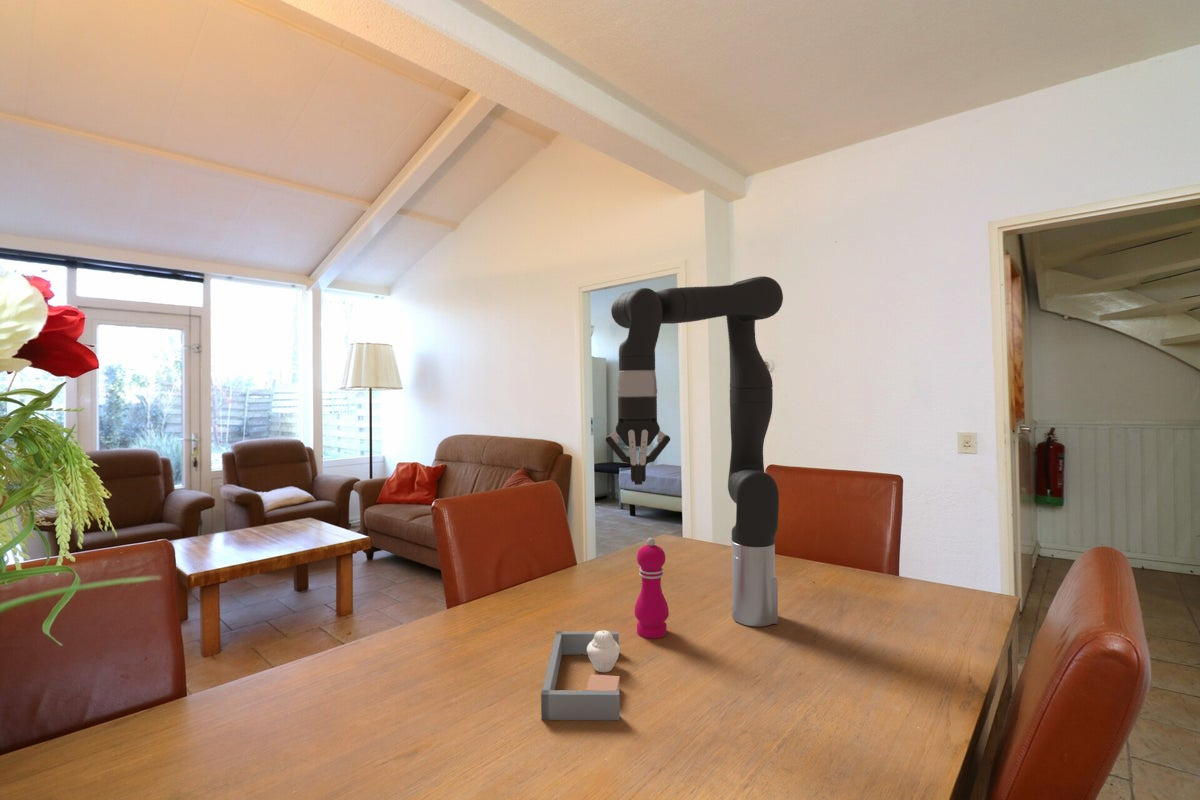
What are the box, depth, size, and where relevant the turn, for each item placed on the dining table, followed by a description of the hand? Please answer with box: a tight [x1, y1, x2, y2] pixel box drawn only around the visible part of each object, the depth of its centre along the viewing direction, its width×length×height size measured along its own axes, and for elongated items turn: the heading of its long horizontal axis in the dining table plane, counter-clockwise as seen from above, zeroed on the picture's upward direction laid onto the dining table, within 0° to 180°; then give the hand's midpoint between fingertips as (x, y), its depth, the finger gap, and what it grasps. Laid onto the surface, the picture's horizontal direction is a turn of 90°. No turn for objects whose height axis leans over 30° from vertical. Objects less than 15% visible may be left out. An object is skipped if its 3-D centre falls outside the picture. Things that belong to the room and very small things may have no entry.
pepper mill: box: [633, 537, 670, 639], centre depth 117 cm, size 7×7×20 cm
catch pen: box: [540, 630, 621, 721], centre depth 98 cm, size 12×22×4 cm, turn 178°
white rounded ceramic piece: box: [587, 629, 621, 673], centre depth 103 cm, size 6×6×7 cm
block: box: [585, 674, 621, 692], centre depth 94 cm, size 5×5×2 cm
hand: (638, 484), depth 108 cm, fingers closed
